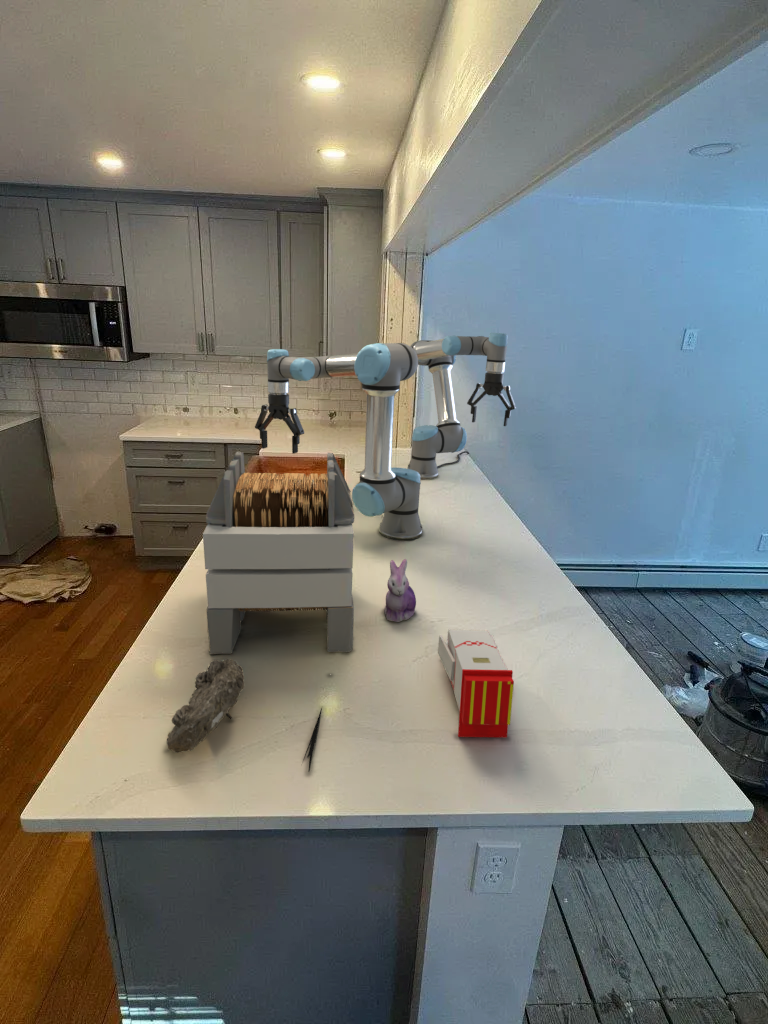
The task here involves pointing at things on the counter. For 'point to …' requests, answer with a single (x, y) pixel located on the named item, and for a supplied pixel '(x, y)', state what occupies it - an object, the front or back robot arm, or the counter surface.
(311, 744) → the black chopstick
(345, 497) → the grey record crate
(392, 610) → the figurine
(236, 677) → the fossil
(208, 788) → the counter surface
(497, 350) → the back robot arm
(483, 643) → the toy
